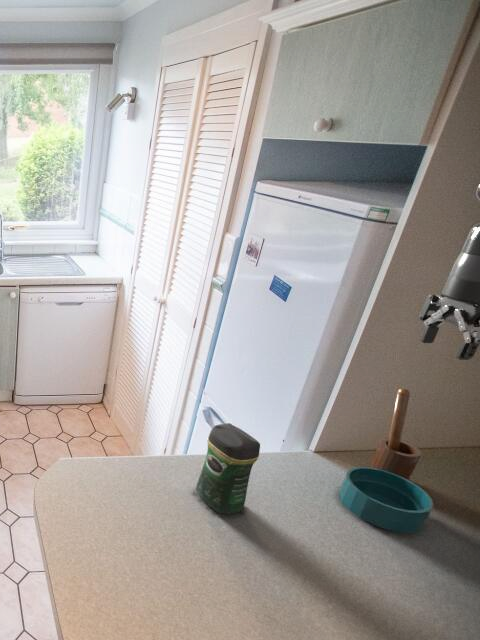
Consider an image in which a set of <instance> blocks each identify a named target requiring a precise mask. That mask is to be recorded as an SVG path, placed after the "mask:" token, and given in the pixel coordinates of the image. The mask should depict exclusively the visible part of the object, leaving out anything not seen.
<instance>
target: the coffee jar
mask: <svg viewBox="0 0 480 640" xmlns="http://www.w3.org/2000/svg"><path fill="white" fill-rule="evenodd" d="M260 451H261V443H260V441H258V440H257V439H255V437H253V436H251V435H250V434H249V433H247V432H246V431H244V430H242V429H241V428H240V427H237V426H236V425H234V424H232V423H230V422H228V423H220V424H216V425H214V426H213V427H212V428H211V429H210V432H209V434H208V437H207V451H206V456H205V460H204V463H203V465H202V469H201V471H200V474H199V477H198V479H197V483H196V487H195V492H196V494H197V495H198V496H199V498H200V499H201V500H202V501H203V502H204V503H205V504H206V505H207V506H208V507H209V508H211V509H212V510H213V511H215V512H216V513H218V514H223V515H234V514H237V513H240V512H242V510H244V507H245V504H246V498H247V492H248V488H249V487H248V486H249V482H250V477H251V472H252V469H253V466H254V464H255V463H256V462H257V461H258V459H259V457H260Z"/></svg>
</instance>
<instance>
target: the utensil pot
mask: <svg viewBox="0 0 480 640" xmlns="http://www.w3.org/2000/svg"><path fill="white" fill-rule="evenodd" d="M388 441H389V437H385V438H384V437H383V438H381V439H380V441H379V443H378V446H377V448H376V450H375V452H374V455H373V457H372V460H371V462H370V464H369V466H368V467H371V468H376V469H381V470H384V471H388V472H391V473H394V474H396V475H398V476H401V477H403V478H405V479H407V480H409V481H410V479H411V477H412V475H413V474H414V471H415V468H416V467H417V465H418V463H419V460H420V458H421V456H422V451H421V450H420V449H419V448H418V447H416V446H415V445H413V444H411V443H409V442H407V441H404V440H401V442H400V447H399V452H397V451H395V450H393V449H391V448H389V447H388Z"/></svg>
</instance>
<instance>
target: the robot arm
mask: <svg viewBox="0 0 480 640" xmlns="http://www.w3.org/2000/svg"><path fill="white" fill-rule="evenodd" d="M475 193H476V198H477V199H478V201H479V202H480V183H479V184H478V186H477V188H476V191H475ZM417 319H418V321H422V322H423V325H424V327H423V330H422V332H421V334H420V342H421V343H423V344H433V343H434V342H435V339H436V337H437V335H438V332H439V330H440V326H441V325H443V324H444V323H450V324H452V325H453V326H455V327H458V331H459V332H460V333H462V336H463V340H464V341H462V343H461V345H460V347H459V349H458V351H457V353H456V355H455V358H456V359H458V360H461V361H469V360H470V359H472V358H474V356H475V354H476V352H477V350H478V348H479V346H480V222H478V223H476V224H474V225H473V226H472V228H471V229H470V230H469V233H468V235H467V238H466V240H465V242H464V244H463V247H462V249H461V252H460V253H459V255H458V256H457V258H456V260H455V261H454V263H453V266H452V268H451V271H450V273H449V275H448V277H447V280H446V282H445V284H444V287H443V289H442V291H441V294H428V295H427V297H426V299H425V301H424V304H423V306H422V307H421V310H420V312H419V313H418V315H417Z"/></svg>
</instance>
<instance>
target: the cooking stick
mask: <svg viewBox="0 0 480 640" xmlns="http://www.w3.org/2000/svg"><path fill="white" fill-rule="evenodd" d="M410 396H411V391H410V390H409V389H407V388H400V389H398V390H397V393H396V397H395V404H394V409H393V414H392V420H391V425H390V430H389V436H388V438H389V441H388V447H389V448H391V449H393V450H395V451H397V452H399V447H400V442H401V441H402V435H403V433H404V432H403V431H404V425H405V421H406V415H407V410H408V407H409V401H410Z"/></svg>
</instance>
